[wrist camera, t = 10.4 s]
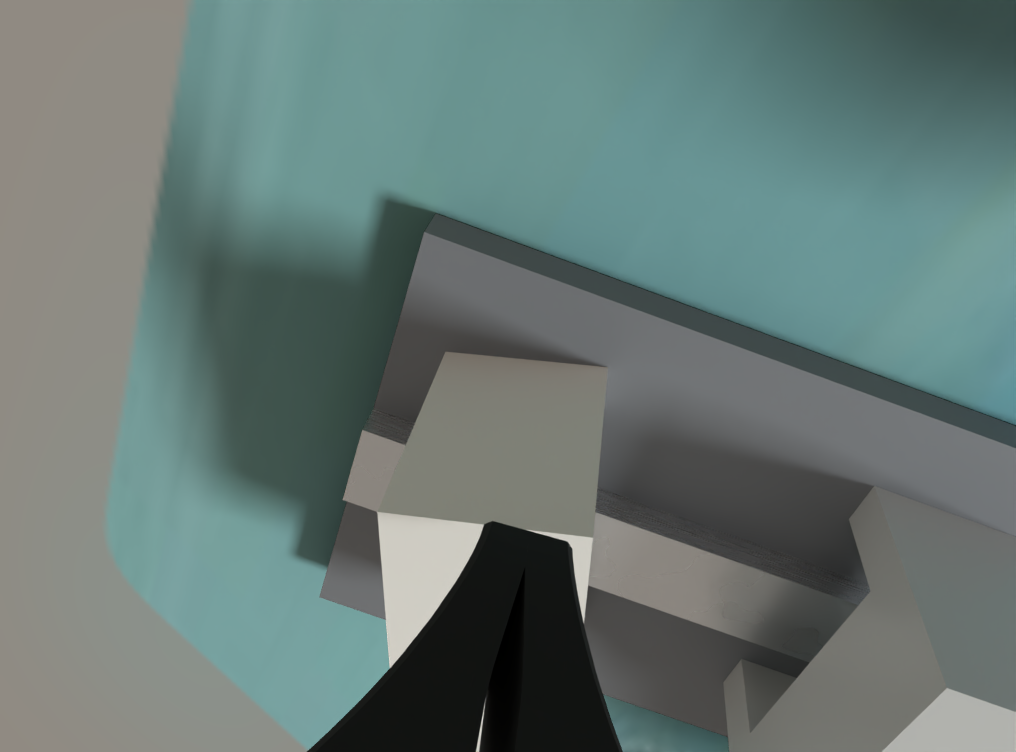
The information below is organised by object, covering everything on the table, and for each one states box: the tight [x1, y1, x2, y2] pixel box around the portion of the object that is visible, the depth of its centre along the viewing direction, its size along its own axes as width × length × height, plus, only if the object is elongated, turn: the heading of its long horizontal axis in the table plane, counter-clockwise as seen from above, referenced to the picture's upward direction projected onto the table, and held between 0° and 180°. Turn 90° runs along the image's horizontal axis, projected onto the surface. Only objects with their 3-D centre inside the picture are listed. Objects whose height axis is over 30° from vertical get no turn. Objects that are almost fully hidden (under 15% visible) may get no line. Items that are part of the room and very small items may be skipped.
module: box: [377, 352, 608, 752], centre depth 20 cm, size 4×9×6 cm, turn 179°
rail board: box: [320, 214, 1016, 752], centre depth 21 cm, size 17×13×7 cm
